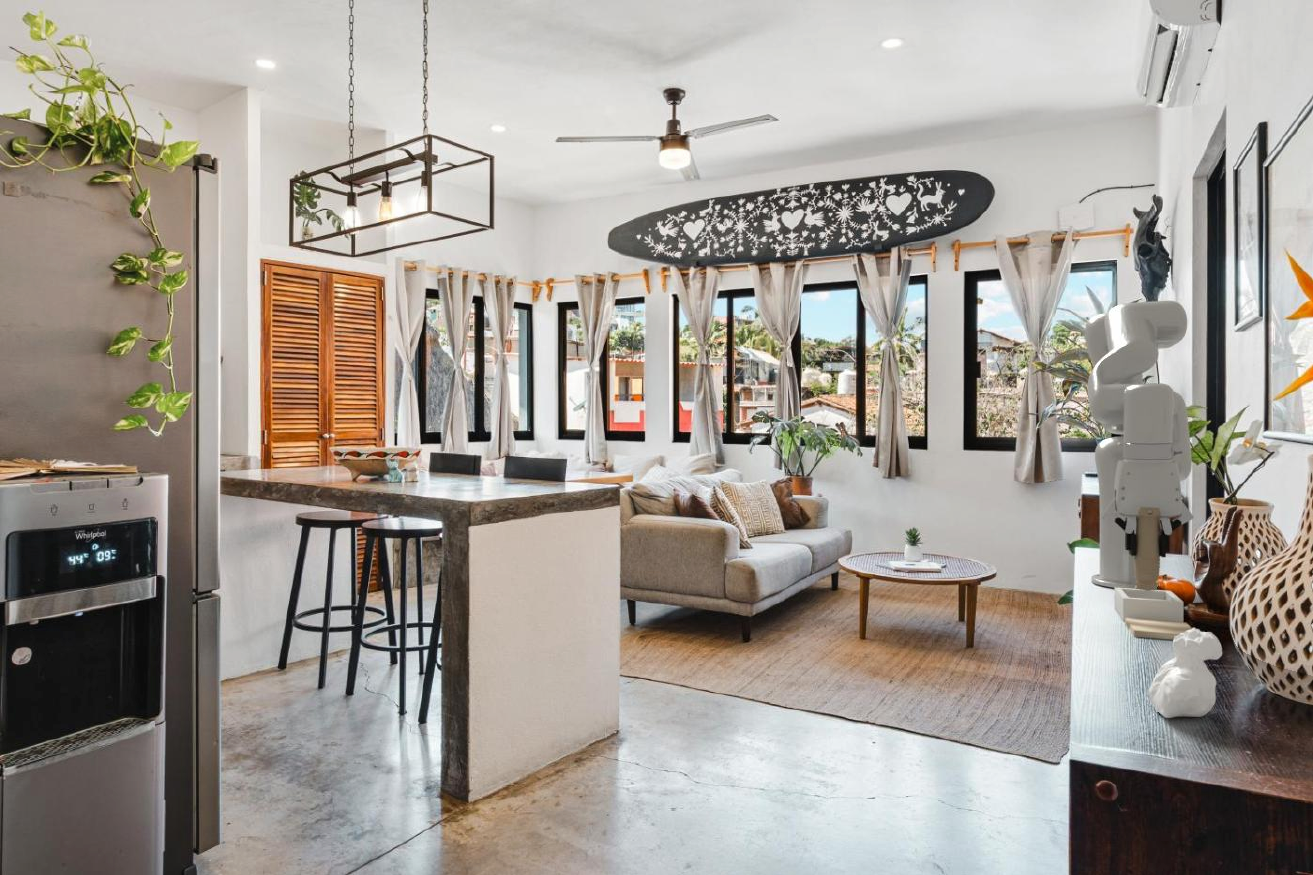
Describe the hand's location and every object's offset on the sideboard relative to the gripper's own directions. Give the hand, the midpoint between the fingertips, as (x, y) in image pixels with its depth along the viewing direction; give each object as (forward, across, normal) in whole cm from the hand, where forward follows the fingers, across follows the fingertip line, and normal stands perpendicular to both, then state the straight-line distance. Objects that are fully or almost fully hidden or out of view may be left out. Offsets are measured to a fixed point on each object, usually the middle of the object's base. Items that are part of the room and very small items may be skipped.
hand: (1146, 554), depth 145 cm
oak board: (+11, 0, +12) cm, 17 cm away
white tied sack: (+10, +5, +54) cm, 55 cm away
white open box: (+11, 0, +1) cm, 11 cm away
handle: (+6, 0, 0) cm, 6 cm away
